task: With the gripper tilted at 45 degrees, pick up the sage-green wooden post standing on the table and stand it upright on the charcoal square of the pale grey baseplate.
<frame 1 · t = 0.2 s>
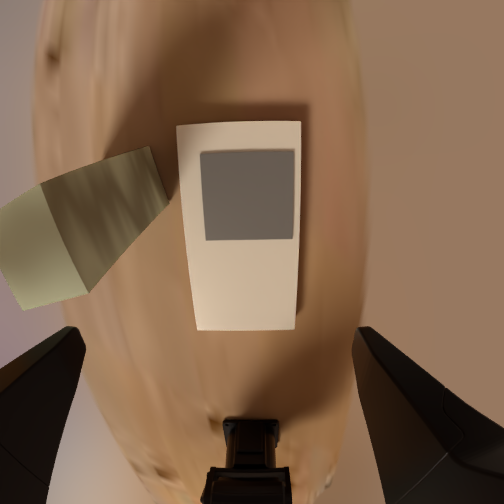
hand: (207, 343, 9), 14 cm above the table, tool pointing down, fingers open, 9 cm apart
post: (132, 184, 21), on the table
baseplate: (242, 232, 23), on the table
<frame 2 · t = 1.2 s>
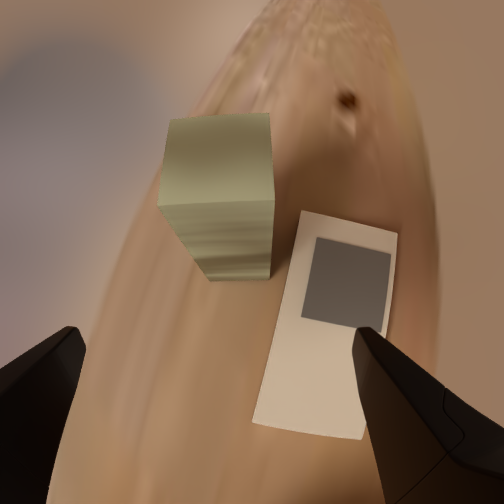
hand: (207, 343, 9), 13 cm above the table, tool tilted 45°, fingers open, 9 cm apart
post: (239, 252, 24), on the table
baseplate: (331, 325, 22), on the table
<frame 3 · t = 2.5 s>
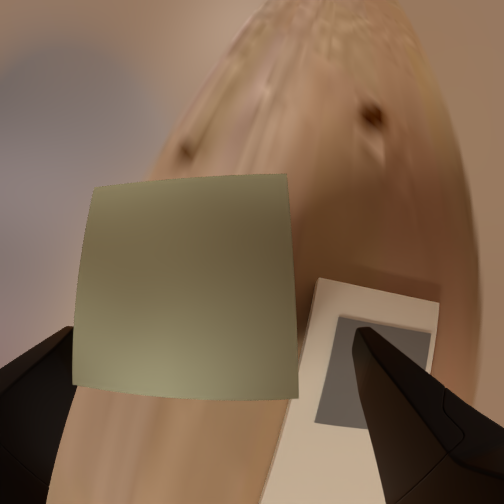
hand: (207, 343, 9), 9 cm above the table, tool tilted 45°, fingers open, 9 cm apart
post: (234, 332, 18), on the table
baseplate: (350, 423, 15), on the table
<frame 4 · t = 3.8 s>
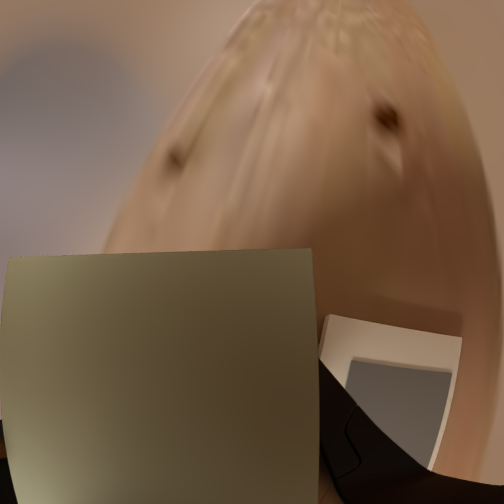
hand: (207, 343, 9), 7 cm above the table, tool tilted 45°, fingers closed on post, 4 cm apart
post: (230, 375, 15), on the table, touching gripper
baseplate: (359, 469, 13), on the table
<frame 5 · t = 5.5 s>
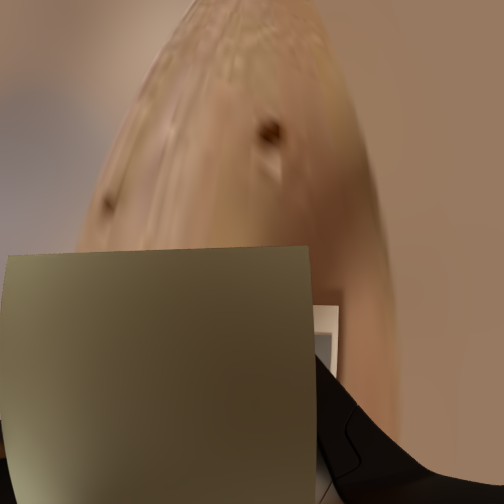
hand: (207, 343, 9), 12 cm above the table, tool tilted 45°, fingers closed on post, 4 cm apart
post: (230, 374, 15), point 6 cm above the table, touching gripper
baseplate: (271, 418, 19), on the table
when the fingers open (9 cm above the table, at t = 7.3 s): post stays where it is, resting on baseplate.
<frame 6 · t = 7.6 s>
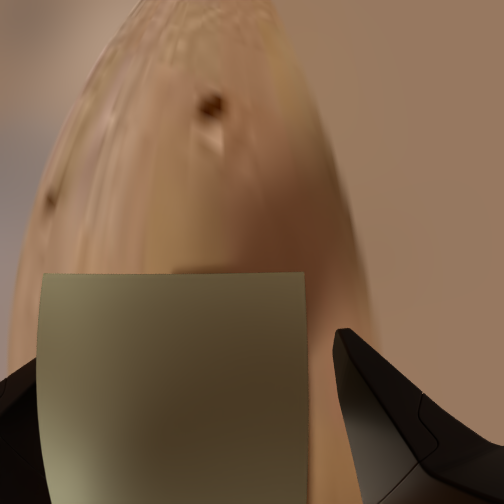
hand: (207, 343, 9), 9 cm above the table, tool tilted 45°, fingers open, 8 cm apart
post: (232, 373, 16), point 1 cm above the table, touching baseplate
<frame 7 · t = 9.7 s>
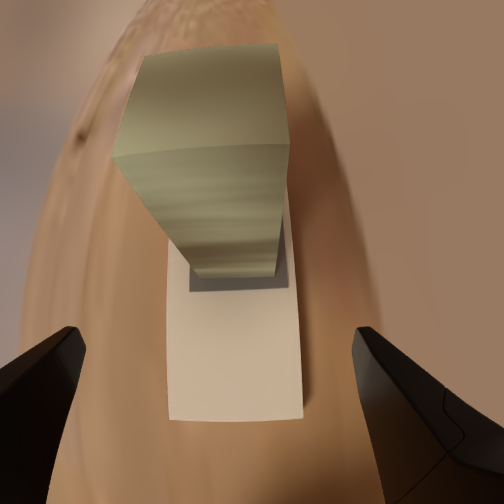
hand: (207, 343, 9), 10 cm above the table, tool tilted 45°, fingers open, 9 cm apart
post: (236, 242, 20), point 1 cm above the table, touching baseplate
baseplate: (232, 294, 20), on the table
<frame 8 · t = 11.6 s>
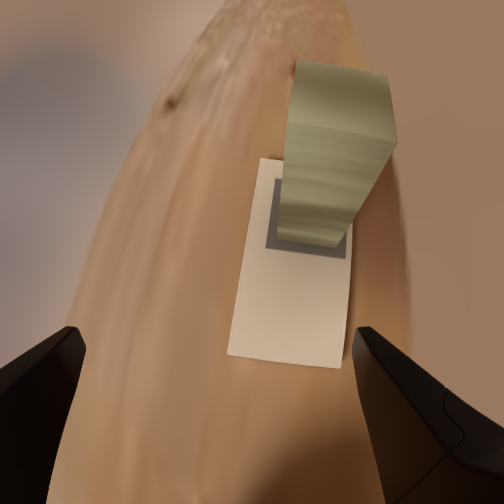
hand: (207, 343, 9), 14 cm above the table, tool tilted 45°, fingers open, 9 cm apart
post: (309, 216, 24), point 1 cm above the table, touching baseplate
baseplate: (297, 257, 24), on the table
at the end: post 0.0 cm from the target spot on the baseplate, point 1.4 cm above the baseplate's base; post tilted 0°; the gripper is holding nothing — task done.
